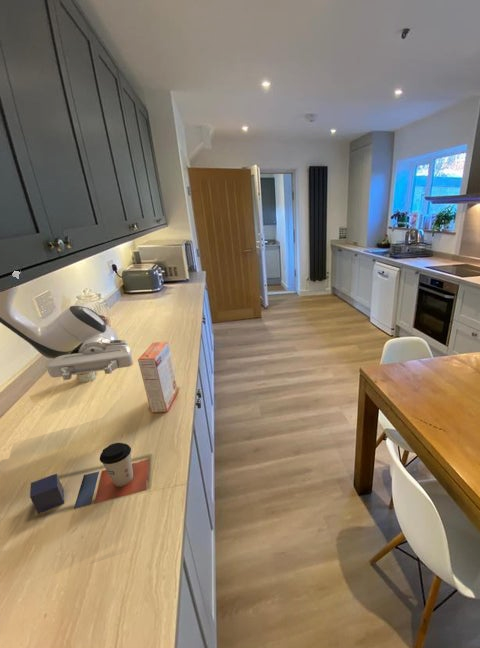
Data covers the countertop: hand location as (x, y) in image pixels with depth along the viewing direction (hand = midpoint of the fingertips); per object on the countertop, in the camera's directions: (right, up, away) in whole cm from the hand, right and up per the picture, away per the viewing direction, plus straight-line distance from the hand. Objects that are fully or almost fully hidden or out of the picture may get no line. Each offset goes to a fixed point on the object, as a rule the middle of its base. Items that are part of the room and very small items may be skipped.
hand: (87, 374), depth 84 cm
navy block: (-3, -30, -8) cm, 31 cm away
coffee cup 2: (+10, -27, -1) cm, 29 cm away
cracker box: (+7, -13, +33) cm, 36 cm away
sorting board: (+4, -29, -3) cm, 29 cm away
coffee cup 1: (-32, -5, +49) cm, 59 cm away
